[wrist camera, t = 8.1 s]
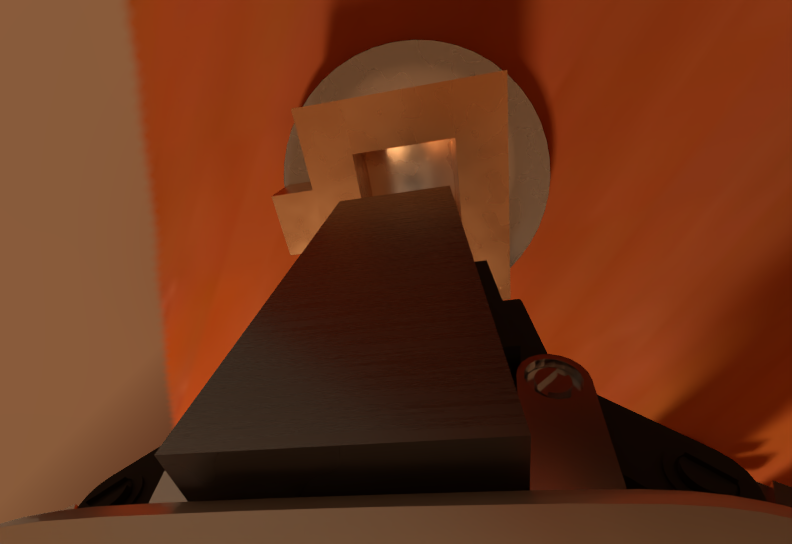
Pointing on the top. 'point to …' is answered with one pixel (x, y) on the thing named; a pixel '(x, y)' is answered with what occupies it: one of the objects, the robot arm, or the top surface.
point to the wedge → (362, 372)
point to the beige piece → (420, 146)
